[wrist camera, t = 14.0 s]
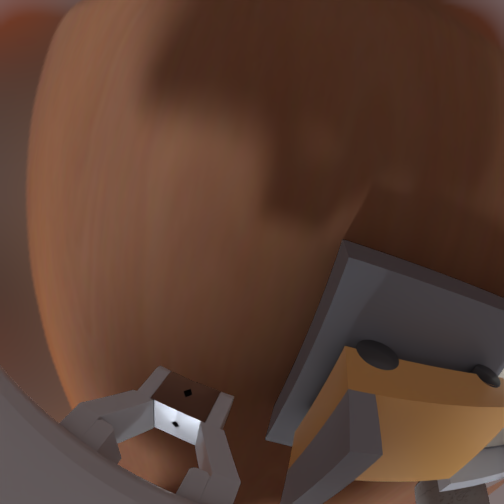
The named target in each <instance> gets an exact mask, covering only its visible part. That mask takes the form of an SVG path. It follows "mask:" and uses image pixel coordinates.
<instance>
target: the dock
mask: <svg viewBox="0 0 504 504" xmlns="http://www.w3.org/2000/svg"><path fill="white" fill-rule="evenodd" d="M362 340H373V341H377V342H380V343H382V344H384V345H386V346H388V347H389V348H390V349H392V350H393V351H394V352H395V354H396V355H397V357H398V359H401V360H405V361H410V362H415V363H419V364H424V365H429V366H434V367H439V368H445V369H450V370H456V371H461V372H467V373H471V372H472V370H473V369H474V367H475V366H476V365H478V364H480V365H484V366H486V367H488V368H490V369H491V370H492V371H494V372H495V374H496V375H497V376H498V377H501V378H504V298H502V297H500V296H498V295H495V294H493V293H490V292H488V291H485V290H483V289H480V288H478V287H475V286H473V285H470V284H468V283H465V282H462V281H460V280H457V279H455V278H452V277H449V276H447V275H444V274H441V273H439V272H436V271H433V270H431V269H428V268H425V267H422V266H420V265H417V264H414V263H411V262H408V261H406V260H403V259H400V258H397V257H394V256H391V255H388V254H386V253H383V252H380V251H377V250H374V249H371V248H368V247H365V246H362V245H359V244H356V243H353V242H350V241H347V240H344V239H342V242H341V245H340V248H339V251H338V254H337V257H336V260H335V263H334V266H333V268H332V271H331V274H330V277H329V279H328V282H327V285H326V288H325V290H324V293H323V296H322V298H321V301H320V303H319V306H318V308H317V311H316V313H315V316H314V318H313V321H312V323H311V326H310V328H309V331H308V333H307V335H306V338H305V340H304V342H303V345H302V347H301V349H300V352H299V354H298V356H297V359H296V361H295V363H294V365H293V367H292V370H291V372H290V374H289V376H288V378H287V380H286V383H285V385H284V387H283V389H282V391H281V393H280V395H279V397H278V399H277V401H276V403H275V405H274V408H273V412H272V416H271V419H270V423H269V427H268V430H267V434H266V438H265V440H268V441H272V442H276V443H279V444H283V445H287V446H292V445H293V440H294V434H295V431H296V430H297V428H298V427H299V425H300V423H301V422H302V420H303V419H304V417H305V416H306V414H307V412H308V411H309V409H310V408H311V406H312V404H313V403H314V401H315V399H316V398H317V396H318V394H319V393H320V391H321V389H322V387H323V386H324V384H325V382H326V380H327V379H328V377H329V375H330V373H331V371H332V370H333V368H334V366H335V364H336V362H337V360H338V358H339V356H340V354H341V353H342V351H343V349H344V347H345V346H348V347H352V348H355V347H356V345H357V344H358V342H360V341H362ZM501 478H504V428H503V429H502V430H501V431H500V432H499V433H498V434H497V435H496V436H495V437H494V438H493V439H492V440H491V441H490V443H489V444H488V445H487V446H485V447H484V448H483V449H482V450H481V451H480V452H479V453H478V454H477V455H476V456H475V457H474V458H473V459H472V460H471V461H469V462H468V463H467V464H466V465H465V466H464V467H463V468H461V469H460V470H459V471H458V472H457V473H455V474H454V475H453V476H452V477H450V478H449V479H440V480H437V481H438V487H439V492H442V491H449V490H455V489H461V488H466V487H470V486H475V485H479V484H483V483H487V482H491V481H495V480H498V479H501Z"/></svg>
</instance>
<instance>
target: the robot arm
mask: <svg viewBox="0 0 504 504" xmlns="http://www.w3.org/2000/svg"><path fill="white" fill-rule="evenodd" d="M233 400H234V396H232V395H229V394H226V393H224V392H221V391H219V390H216V389H213V388H211V387H208V386H206V385H203V384H200V383H198V382H194V381H192V380H190V379H188V378H186V377H183V376H181V375H179V374H177V373H175V372H173V371H171V370H169V369H166V368H164V367H162V366H159V367H157V368H156V369H155V370H154V372H153V373H152V374H151V375H150V376H149V378H148V379H147V380H146V381H145V382H144V383H143V385H142V386H141V387H140V388H139V389H138V391H135V390H130V391H127V392H123V393H119V394H115V395H111V396H107V397H103V398H99V399H95V400H91V401H86V402H82V403H79V404H78V405H77V406H76V407H75V408H74V409H73V410H72V411H71V412H70V413H69V415H67V416H66V417H65V418H64V419H63V420H62V421H61V422H60V423H58V422H57V421H56V420H55V419H53V418H52V417H51V416H50V415H49V414H48V413H46V412H45V411H44V410H43V409H42V408H41V407H40V406H38V405H37V403H36V402H34V401H33V400H32V399H31V398H30V397H29V396H28V395H27V394H26V393H25V392H24V391H23V390H22V389H21V388H20V387H19V386H18V385H17V383H15V381H14V380H13V379H12V378H11V377H10V376H9V375H8V374H7V373H6V371H5V370H4V369H3V368H2V367H1V366H0V504H233V503H234V500H235V497H236V495H237V492H238V489H239V486H240V483H241V481H240V479H239V476H238V473H237V470H236V467H235V464H234V461H233V458H232V454H231V451H230V448H229V445H228V442H227V438H226V435H225V432H224V430H223V427H224V425H225V422H226V420H227V417H228V414H229V412H230V409H231V406H232V403H233ZM154 427H156V428H158V429H160V430H162V431H164V432H166V433H169V434H171V435H173V436H175V437H178V438H180V439H182V440H184V441H186V442H188V443H191V444H193V445H195V450H196V455H197V461H198V466H199V469H198V468H195V467H194V468H190V469H189V471H188V472H187V474H186V476H185V478H184V480H183V482H182V483H181V485H180V487H179V489H178V491H177V492H176V494H174V493H172V492H170V491H168V490H165V489H163V488H161V487H159V486H157V485H155V484H153V483H151V482H149V481H147V480H145V479H143V478H141V477H139V476H137V475H135V474H133V473H132V472H130V471H128V470H126V469H124V468H123V467H121V466H119V465H118V462H119V461H120V460H121V455H120V451H119V448H118V444H117V443H120V442H122V441H125V440H127V439H130V438H132V437H134V436H137V435H139V434H141V433H144V432H146V431H148V430H150V429H153V428H154Z"/></svg>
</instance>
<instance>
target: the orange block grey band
mask: <svg viewBox="0 0 504 504" xmlns="http://www.w3.org/2000/svg"><path fill="white" fill-rule="evenodd" d="M503 428H504V378H501V377H498V376H497V375H496V374H495V372H494V371H492V370H491V369H490V368H488V367H486V366H484V365H480V364H478V365H476V366H475V367H474V369H473V370H472V372H471V373H467V372H461V371H456V370H450V369H445V368H439V367H434V366H429V365H424V364H419V363H415V362H410V361H405V360H401V359H398V357H397V355H396V354H395V352H394V351H393V350H392V349H390V348H389V347H388V346H386V345H384V344H382V343H380V342H377V341H373V340H362V341H360V342H358V344H357V345H356V347H355V348H352V347H348V346H345V347H344V349H343V351H342V353H341V354H340V356H339V358H338V360H337V362H336V364H335V366H334V368H333V370H332V371H331V373H330V375H329V377H328V379H327V380H326V382H325V384H324V386H323V387H322V389H321V391H320V393H319V394H318V396H317V398H316V399H315V401H314V403H313V404H312V406H311V408H310V409H309V411H308V412H307V414H306V416H305V417H304V419H303V420H302V422H301V423H300V425H299V427H298V428H297V430H296V431H295V434H294V440H293V445H292V451H291V456H290V461H289V466H288V471H287V475H286V480H285V485H284V489H283V493H282V498H281V502H280V504H323V503H324V502H325V501H327V500H328V499H330V498H331V497H333V496H334V495H335V494H337V493H338V492H339V491H341V490H342V489H343V488H345V487H346V486H347V485H349V484H350V483H351V482H352V481H354V480H359V481H378V482H411V481H429V480H440V479H449V478H450V477H452V476H453V475H454V474H455V473H457V472H458V471H459V470H460V469H461V468H463V467H464V466H465V465H466V464H467V463H468V462H469V461H471V460H472V459H473V458H474V457H475V456H476V455H477V454H478V453H479V452H480V451H481V450H482V449H483V448H484V447H485V446H487V445H488V444H489V443H490V441H491V440H492V439H493V438H494V437H495V436H496V435H497V434H498V433H499V432H500V431H501V430H502V429H503Z"/></svg>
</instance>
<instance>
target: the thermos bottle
mask: <svg viewBox="0 0 504 504" xmlns="http://www.w3.org/2000/svg"><path fill="white" fill-rule="evenodd" d="M415 499H416V504H490V503H489V497H488V493H487V489H486V485H485V483H483V484H479V485H475V486H470V487H466V488H461V489H455V490H449V491H442V492H439V487H438V481H437V480H429V481H420V482H419V483H418V484H417V485H416V487H415Z"/></svg>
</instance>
